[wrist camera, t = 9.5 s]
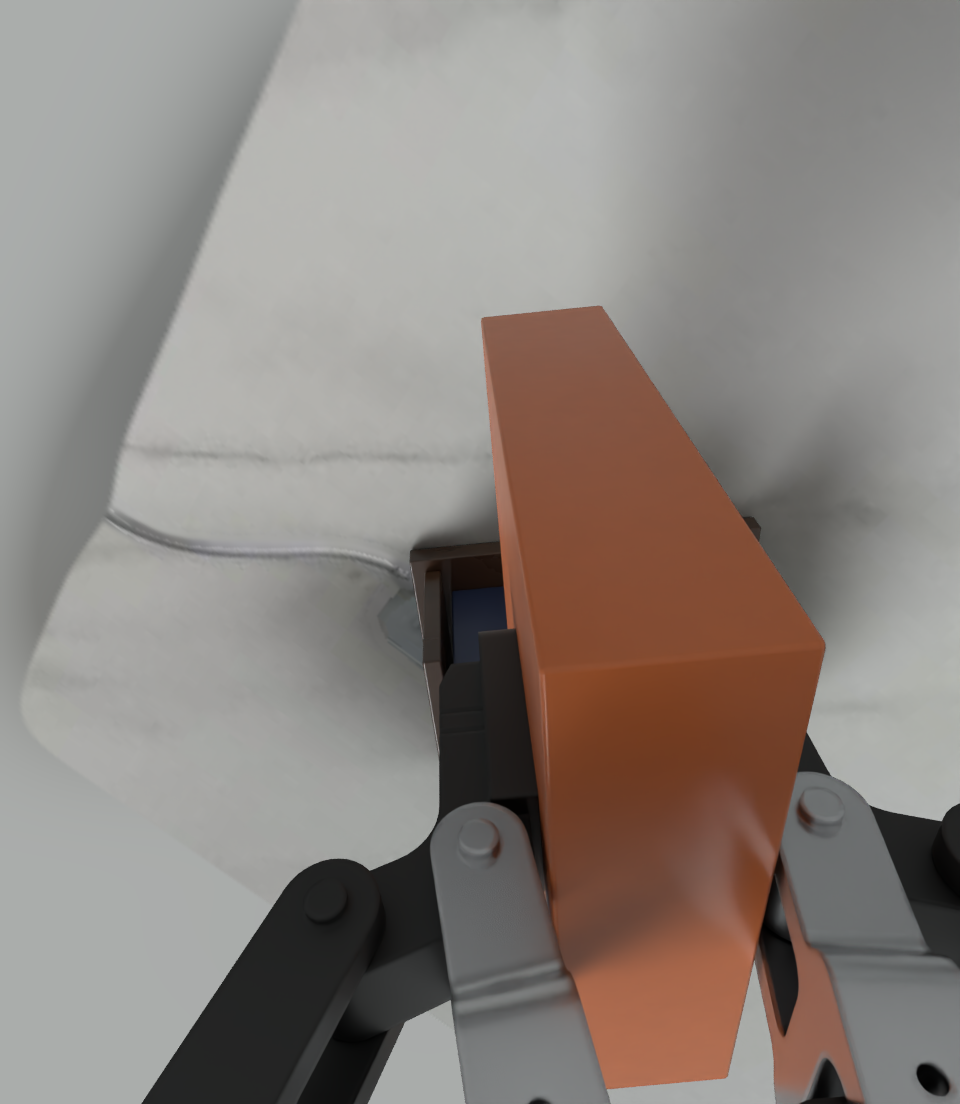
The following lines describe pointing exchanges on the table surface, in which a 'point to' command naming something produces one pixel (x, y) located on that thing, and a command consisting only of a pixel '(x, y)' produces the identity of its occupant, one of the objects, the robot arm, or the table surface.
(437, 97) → the table surface
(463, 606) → the navy book
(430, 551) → the book rack
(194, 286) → the table surface
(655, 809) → the orange book
